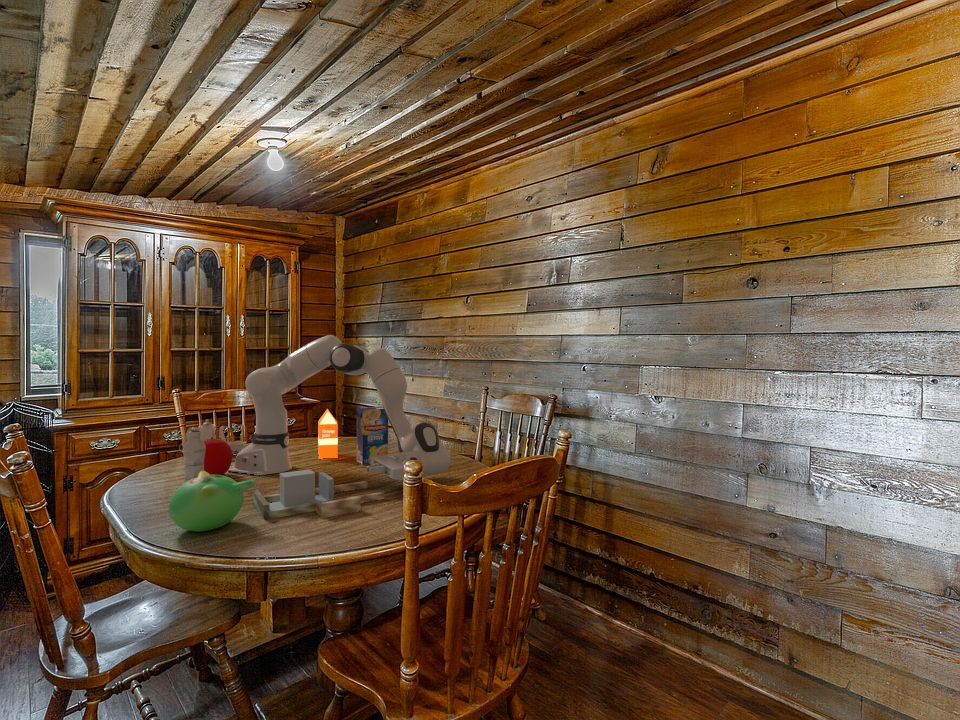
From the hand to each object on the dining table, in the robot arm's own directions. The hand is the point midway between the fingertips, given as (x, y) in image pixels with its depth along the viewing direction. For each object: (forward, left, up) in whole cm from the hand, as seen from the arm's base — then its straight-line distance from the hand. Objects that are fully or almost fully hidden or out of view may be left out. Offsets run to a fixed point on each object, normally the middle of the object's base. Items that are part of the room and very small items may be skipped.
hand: (368, 469), depth 170 cm
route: (-10, -13, -8) cm, 18 cm away
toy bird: (-31, -36, -8) cm, 48 cm away
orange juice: (-34, +47, -8) cm, 59 cm away
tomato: (-62, +11, -8) cm, 63 cm away
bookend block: (-17, -14, -8) cm, 23 cm away
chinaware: (-81, +39, -8) cm, 90 cm away
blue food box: (-13, +42, -8) cm, 45 cm away
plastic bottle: (-55, -9, -8) cm, 56 cm away
